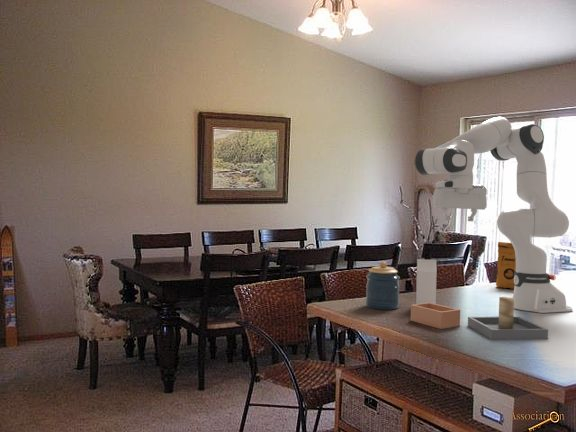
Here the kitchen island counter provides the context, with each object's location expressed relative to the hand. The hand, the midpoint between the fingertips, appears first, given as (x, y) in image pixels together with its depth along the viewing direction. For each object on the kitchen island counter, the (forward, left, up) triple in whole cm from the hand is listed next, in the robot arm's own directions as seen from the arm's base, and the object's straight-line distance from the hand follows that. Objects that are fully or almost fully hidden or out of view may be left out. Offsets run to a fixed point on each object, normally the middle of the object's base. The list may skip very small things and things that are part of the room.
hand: (458, 220), depth 212 cm
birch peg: (-4, +31, -33) cm, 46 cm away
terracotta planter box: (+15, +18, -34) cm, 42 cm away
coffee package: (-47, -52, -35) cm, 78 cm away
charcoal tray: (-4, +31, -34) cm, 47 cm away
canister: (+26, -10, -35) cm, 44 cm away
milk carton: (+10, -6, -35) cm, 36 cm away
